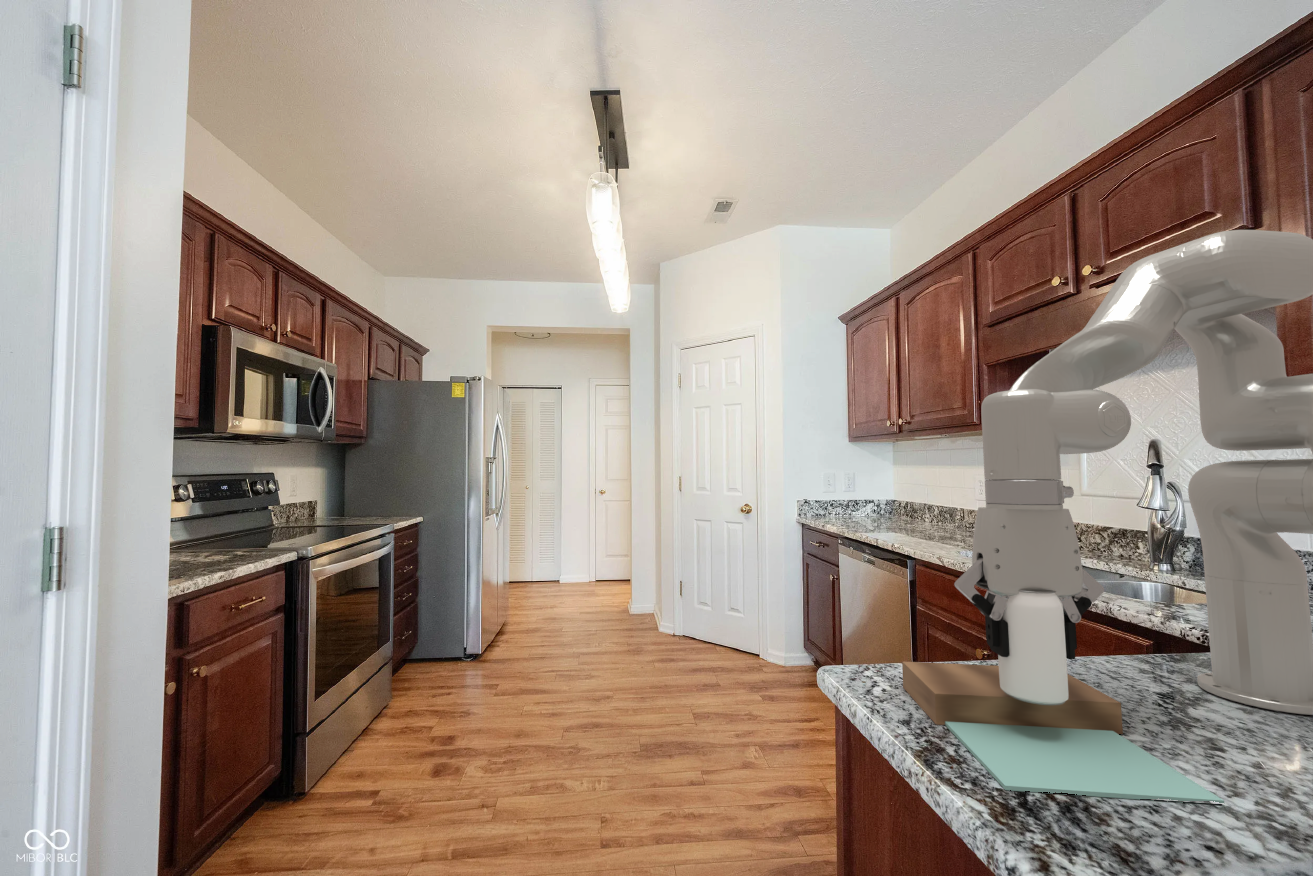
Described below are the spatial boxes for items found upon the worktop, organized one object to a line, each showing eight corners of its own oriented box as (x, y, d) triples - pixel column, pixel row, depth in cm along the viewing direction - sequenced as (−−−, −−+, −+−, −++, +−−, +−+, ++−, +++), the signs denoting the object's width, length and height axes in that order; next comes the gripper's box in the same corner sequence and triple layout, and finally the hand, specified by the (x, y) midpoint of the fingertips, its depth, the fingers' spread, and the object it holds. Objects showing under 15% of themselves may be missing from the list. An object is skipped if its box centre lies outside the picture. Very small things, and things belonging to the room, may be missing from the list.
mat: (1113, 734, 62) (1113, 730, 62) (1224, 805, 48) (1224, 800, 48) (945, 725, 64) (944, 721, 64) (1005, 790, 51) (1005, 785, 51)
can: (1034, 683, 66) (1028, 581, 67) (1084, 704, 60) (1077, 591, 61) (986, 686, 65) (981, 583, 66) (1032, 708, 59) (1026, 593, 60)
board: (1059, 695, 74) (1057, 668, 74) (1123, 735, 62) (1120, 702, 62) (903, 687, 76) (902, 661, 77) (935, 724, 65) (934, 693, 65)
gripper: (1082, 495, 67) (1091, 648, 66) (932, 495, 69) (938, 642, 68) (1126, 497, 60) (1139, 668, 58) (957, 496, 62) (965, 662, 60)
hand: (1031, 653), depth 63 cm, fingers closed on can, 6 cm apart
